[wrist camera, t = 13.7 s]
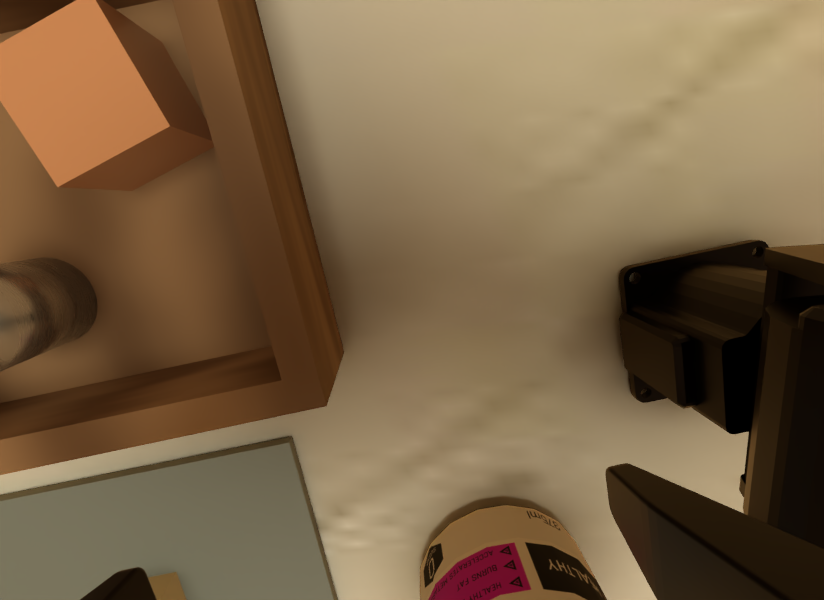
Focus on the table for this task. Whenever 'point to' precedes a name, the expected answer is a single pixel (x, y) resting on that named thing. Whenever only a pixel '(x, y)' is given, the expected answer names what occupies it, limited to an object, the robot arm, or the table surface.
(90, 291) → the grey metal cylinder
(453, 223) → the table surface
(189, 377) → the box
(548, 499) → the table surface
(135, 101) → the terracotta cube
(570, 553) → the supplement can
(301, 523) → the lid
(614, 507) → the robot arm
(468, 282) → the table surface
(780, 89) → the table surface
